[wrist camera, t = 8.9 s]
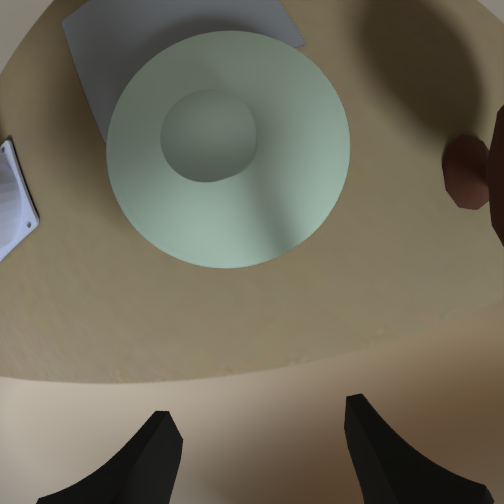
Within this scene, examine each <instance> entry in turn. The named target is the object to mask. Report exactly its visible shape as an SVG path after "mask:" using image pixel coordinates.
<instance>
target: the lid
mask: <svg viewBox="0 0 504 504" xmlns="http://www.w3.org/2000/svg"><path fill="white" fill-rule="evenodd" d="M349 159H350V136H349V128H348V123H347V119H346V115H345V111H344V108H343V106H342V104H341V101H340V99H339V97H338V94H337V93H336V91H335V89H334V88H333V86H332V84H331V83H330V81H329V80H328V79H327V77H326V76H325V75H324V74H323V72H322V71H321V70H320V69H319V68H318V67H317V66H316V65H315V64H314V63H313V62H312V61H311V60H310V59H309V58H308V57H306V56H305V55H303V54H302V53H301V52H299V51H298V50H296V49H295V48H293V47H291V46H289V45H287V44H285V43H283V42H281V41H279V40H277V39H274V38H271V37H268V36H265V35H261V34H257V33H252V32H244V31H216V32H210V33H205V34H200V35H197V36H193V37H190V38H187V39H185V40H182V41H180V42H178V43H176V44H174V45H171V46H170V47H168V48H166V49H165V50H163V51H162V52H160V53H158V54H157V55H156V56H155V57H153V58H152V59H151V60H150V61H148V62H147V63H146V64H145V65H144V66H143V67H142V68H141V69H140V70H139V71H138V72H137V73H136V74H135V75H134V77H133V78H132V79H131V81H130V82H129V83H128V85H127V86H126V88H125V89H124V91H123V93H122V95H121V96H120V98H119V100H118V102H117V105H116V107H115V109H114V112H113V114H112V118H111V122H110V125H109V129H108V136H107V145H106V160H107V168H108V175H109V179H110V183H111V186H112V189H113V192H114V194H115V197H116V199H117V202H118V204H119V205H120V207H121V209H122V211H123V213H124V214H125V216H126V217H127V218H128V220H129V221H130V222H131V224H132V225H133V226H134V228H135V229H136V230H137V231H138V232H139V233H140V234H141V235H142V236H143V237H144V238H145V239H147V240H148V241H149V242H150V243H152V244H153V245H154V246H156V247H157V248H159V249H160V250H162V251H164V252H165V253H167V254H169V255H171V256H173V257H175V258H178V259H180V260H182V261H185V262H189V263H192V264H195V265H199V266H206V267H212V268H237V267H246V266H250V265H255V264H259V263H263V262H265V261H268V260H271V259H274V258H276V257H278V256H280V255H282V254H284V253H286V252H288V251H290V250H291V249H293V248H294V247H296V246H297V245H299V244H300V243H302V242H303V241H304V240H305V239H306V238H308V237H309V236H310V235H311V234H312V233H313V232H314V231H315V230H316V229H317V228H318V227H319V226H320V225H321V223H322V222H323V221H324V220H325V219H326V218H327V216H328V214H329V213H330V211H331V210H332V208H333V207H334V205H335V203H336V201H337V199H338V197H339V195H340V193H341V191H342V188H343V185H344V182H345V179H346V175H347V171H348V165H349Z"/></svg>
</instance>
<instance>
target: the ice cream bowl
mask: <svg viewBox="0 0 504 504" xmlns="http://www.w3.org/2000/svg"><path fill="white" fill-rule="evenodd" d="M442 167H443V173H444V180H445V186H446V191H447V192H448V193H449V195H450V196H451V197H452V199H453V200H454V202H455V203H456V204H457V206H458V207H461V208H466V209H472V210H477V209H479V208H480V207H482V206H483V205H484V204H485V203H486V202H488V201H489V203H490V214H491V222H492V226H493V228H494V230H495V232H496V234H497V235H498V237H499V239H500V241H501V243H502V245H503V246H504V105H503V106H502V107H501V108H500V110H499V111H498V112H497V118H496V123H495V128H494V133H493V138H492V142H491V147H490V151H489V150H488V148H487V147H486V145H485V144H484V142H483V141H481V140H478V139H475V138H473V137H470V136H467V135H464V134H463V135H461V136H460V137H458V138H457V139H455V140H454V141H452V142H451V143H449V145H448V148H447V152H446V155H445V158H444V161H443V164H442Z"/></svg>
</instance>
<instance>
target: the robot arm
mask: <svg viewBox="0 0 504 504" xmlns="http://www.w3.org/2000/svg"><path fill="white" fill-rule="evenodd" d="M4 149H5V150H4ZM30 223H31V225H30ZM38 224H39V218H38V216H37V213H36V211H35V209H34V206H33V204H32V201H31V199H30V196H29V193H28V191H27V188H26V185H25V182H24V180H23V177H22V174H21V171H20V168H19V165H18V162H17V159H16V155H15V152H14V149H13V145H12V142H11V141H10V140H6V141H5V142H4V143H3V144H2V146H1V147H0V261H1V260H2V259H3V258H4V257H5V256H6V255H7V254H8V253H9V252H10V251H11V250H12V249H13V248H14V247H15V246H16V245H17V244H18V243H19V242H21V241H22V240H23V239H24V238H25V237H26V236H27V235H28V234H29V233H30V232H31V231H32V230H34V229H35V228H36V227H37V226H38ZM344 430H345V435H346V440H347V445H348V449H349V452H350V455H351V459H352V462H353V465H354V468H355V471H356V474H357V477H358V480H359V483H360V487H361V490H362V494H363V498H364V504H493V503H494V500H493V498H492V496H491V493H490V492H489V490H488V489H487V487H486V486H485V485H483V484H479V483H476V482H473V481H471V480H468V479H466V478H463V477H461V476H459V475H456V474H454V473H452V472H450V471H448V470H447V469H445V468H442V467H441V466H439V465H437V464H436V463H434V462H432V461H431V460H429V459H428V458H426V457H425V456H423V455H422V454H421V453H419V452H418V451H417V450H415V449H414V448H413V447H412V446H410V445H409V444H408V443H407V442H406V441H405V440H404V439H402V438H401V437H400V436H399V435H398V434H397V433H396V432H395V431H394V430H393V429H392V428H391V427H390V426H389V425H388V424H387V423H386V422H385V421H384V420H383V418H382V417H381V416H380V415H379V414H378V413H377V412H376V410H375V409H374V408H373V407H372V406H371V404H370V403H369V402H368V400H367V399H366V398H365V397H364V395H363V394H356V395H352V396H347V397H346V410H345V422H344ZM182 445H183V439H182V437H181V435H180V433H179V431H178V429H177V427H176V425H175V423H174V421H173V419H172V417H171V415H170V413H169V411H155V412H154V413H153V414H152V416H151V417H150V418H149V419H148V420H147V421H146V422H145V424H144V425H143V426H142V427H141V428H140V429H139V430H138V432H137V433H136V434H135V435H134V436H133V437H132V438H131V439H130V440H129V441H128V442H127V443H126V445H125V446H124V447H123V448H122V449H121V450H120V451H119V452H117V453H116V454H115V455H114V456H113V457H112V458H111V459H110V460H109V461H108V462H106V463H105V464H104V465H103V466H101V467H100V468H99V469H98V470H96V471H95V472H93V473H92V474H91V475H89V476H87V477H86V478H84V479H82V480H81V481H79V482H77V483H76V484H74V485H72V486H70V487H68V488H66V489H63V490H61V491H59V492H56V493H53V494H51V495H48V496H45V497H42V498H39V499H38V501H37V503H36V504H169V501H170V497H171V493H172V490H173V486H174V482H175V479H176V475H177V471H178V468H179V464H180V460H181V454H182Z"/></svg>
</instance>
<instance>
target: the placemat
mask: <svg viewBox="0 0 504 504" xmlns="http://www.w3.org/2000/svg"><path fill="white" fill-rule="evenodd" d="M62 26H63V29H64V33H65V36H66V39H67V43H68V46H69V49H70V52H71V55H72V58H73V61H74V64H75V67H76V70H77V73H78V76H79V79H80V81H81V84H82V87H83V90H84V92H85V95H86V98H87V100H88V103H89V106H90V108H91V111H92V113H93V116H94V118H95V121H96V123H97V126H98V128H99V131H100V133H101V135H102V138H103V140H104V142H105V144H107V136H108V129H109V125H110V122H111V118H112V114H113V112H114V109H115V107H116V105H117V102H118V100H119V98H120V96H121V95H122V93H123V91H124V89H125V88H126V86H127V85H128V83H129V82H130V81H131V79H132V78H133V77H134V75H135V74H136V73H137V72H138V71H139V70H140V69H141V68H142V67H143V66H144V65H145V64H146V63H147V62H148V61H150V60H151V59H152V58H153V57H155V56H156V55H157V54H158V53H160V52H162V51H163V50H165V49H166V48H168V47H170V46H171V45H174V44H176V43H178V42H180V41H182V40H185V39H187V38H190V37H193V36H197V35H200V34H205V33H210V32H216V31H244V32H252V33H257V34H261V35H265V36H268V37H271V38H274V39H277V40H279V41H281V42H283V43H285V44H287V45H289V46H291V47H293V48H296V47H299V46H302V45H305V44H306V42H305V40H304V38H303V37H302V35H301V34H300V32H299V31H298V29H297V27H296V26H295V24H294V23H293V21H292V20H291V18H290V17H289V15H288V14H287V12H286V11H285V10H284V8H283V7H282V5H281V4H280V3H279V1H278V0H89V1H88V2H86V3H85V4H84V5H82V6H81V7H79V8H78V9H77V10H75V11H74V12H73V13H72V14H70V15H69V16H68V17H67V18H65V19H64V20H63V21H62Z"/></svg>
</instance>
